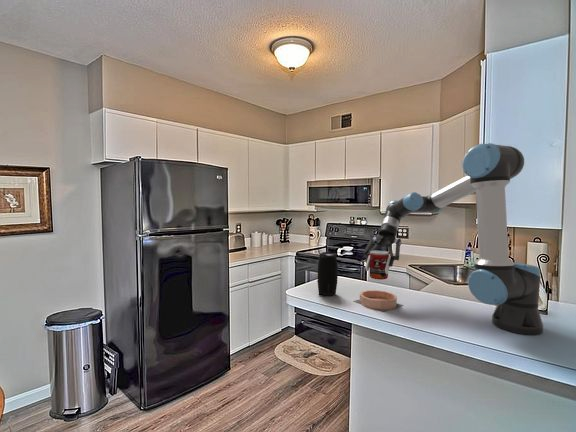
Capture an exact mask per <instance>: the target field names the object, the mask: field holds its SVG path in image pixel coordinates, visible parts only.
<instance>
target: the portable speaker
mask: <svg viewBox="0 0 576 432" xmlns="http://www.w3.org/2000/svg"><path fill="white" fill-rule="evenodd" d="M318 255H319V256H318V262H317V281H316V282H317V289H318V291H317V292H318V295H322V297H328V298H329V297H330V298H331V297H333V296H334V295H336V293H337V287H338V274H339V273H338V271H339V270H338V268H339V266H338V258H337V256H338V255H337V253H332V252H330V251H323V252H320V254H318Z"/></svg>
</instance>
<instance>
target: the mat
mask: <svg viewBox="0 0 576 432" xmlns="http://www.w3.org/2000/svg"><path fill="white" fill-rule="evenodd" d="M352 302H353V303H356V304H359V305H361V306H363V305H362V304H361V303H360V299H357V300H353V301H352ZM400 307H401V308H402V307H404V305H403V304H401V303H398V302H397V305H396V308H392V309H382V310H380V309H375V310H377V311H379V312H381V313H385V312H388V311H392V310H394V309H397V308H400Z"/></svg>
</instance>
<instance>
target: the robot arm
mask: <svg viewBox="0 0 576 432" xmlns="http://www.w3.org/2000/svg"><path fill="white" fill-rule="evenodd" d="M524 166H525V157H524V155H523V153H522V152H521V151H520V150H519V149H518V148H517V147H514V146H511V145H500V144H495V143H491V142H490V143H479V144H476V145H474V146H473V147H470V149H468V151H467V152H466V153H465V155H464V157H463V159H462V166H461V168H462V170H463V173H464V174H466V175H465V176H463V177H461V178H459V179H457V180H455V181H453V182H451V183H450V184H448V185H446V186H444V187H442V188H440V189H438V190H436V191H434V192H433V193H431V194H429V195H424V196H422V195H421V194H419V193H418V192H411V193H409V194H407V195H405V196H404V197H402V198H401V199H399V200H391V201H390V202H389V203H388V205H387V206H386V207H385V208H386V209H385V211H384V216H383V220H382V222H381V225H380V228H379V231H378V234H377V236H375V237H374V236H373V235H371V236H370V237H369V241H368V243H367V245H366V247H365V248H364V250H363V252H362V253H363V255H364V257H366V258H365V260H364V262H365V267H364V269H365V272H369V271H370V251H375V250H378V251H379V249H381V247H386V248H388V252H389V257H388V260H387V264H386V267H385V273H386V274H388V275H389V271H390V267H391V268H392V267H393V266H394V261H400V251H401V245H402V239H401V238H397V234H398V230H399V226H400V224H401V220H402V219H403V218H405V217H406V216H408V215H410V214H434V213H439V212H441V210H442V209H443V208H445V207H446V206H448V205H450V204H453V203H455V202H458V201H459V200H461V199H463V198H467V196H470V195H472V194H474V193H475V201H476V202H475V203H476V222H477V223H476V224H477V243H478V245H477V246H478V259H476V261H474V263H473V264H474V271H472V272H471V274H469V275H468V278H467V279H468V280H467V286H468V289H469V291H470V293H471V295H472V296H474V298H475V299H476V300H478V301H479V302H480V303H483V304H486V305H492V304H498V305H497V306H496V307H495V309H494V311H493V314H492V315H491V316H492V317H491V322H492V325H494V326H495V327H497V328H499V329H502V330H503V331H507V332H511V333H515V334H520V335H525V336H526V335H527V336H528V335H530V336H537V335H541V334H543V333H544V323H543V320H542V317H541V314H540V310H539V299H540V288H541V287H540V286H541V278H542V276H541V269H540V268H539V266H536V265H533V264H526V263H521V262H514V261H512V260H511V259H510V258H509V256H510V255H509V241H508V239H509V237H508V221H507V220H508V219H507V203H506V202H507V200H506V199H507V198H506V187H507V185H508V184H510V182H511V179H514V178H516V177H517V176H518V175H519V174H520V173H521V172H522V170H524ZM374 243H375V244H374ZM394 243H395V252H394V253H395V255H394V253H393V248H392V245H393V244H394Z"/></svg>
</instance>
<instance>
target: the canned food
mask: <svg viewBox="0 0 576 432" xmlns="http://www.w3.org/2000/svg"><path fill="white" fill-rule="evenodd" d="M388 257H390V252H389V251H387V250H379V249H378V250H375V251H370V267H369V277H370V278H371V279H374V280H381V281H382V280H387V279H388V276H389V273H388V274H386V273H385V267H386V264H387V260H388Z"/></svg>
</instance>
